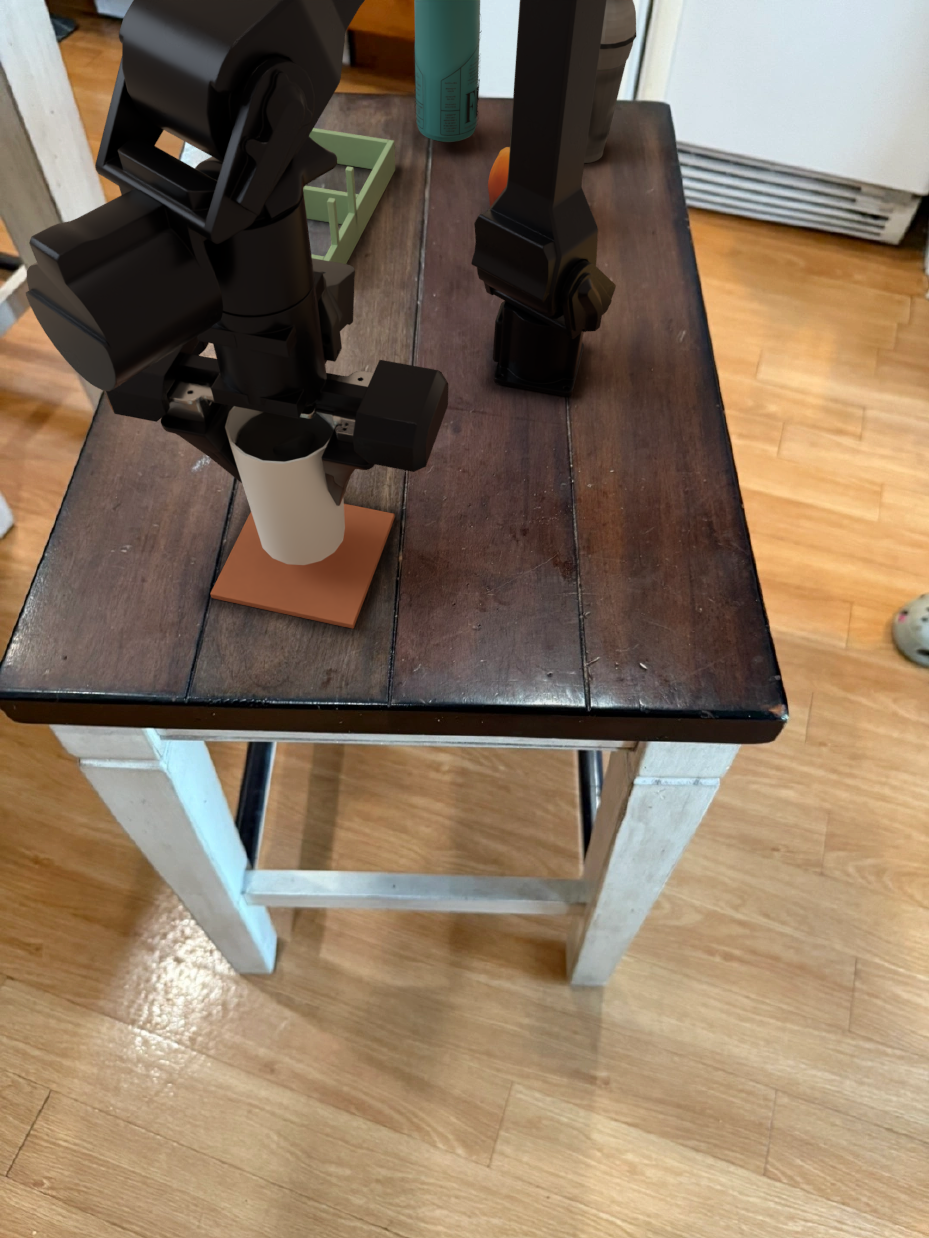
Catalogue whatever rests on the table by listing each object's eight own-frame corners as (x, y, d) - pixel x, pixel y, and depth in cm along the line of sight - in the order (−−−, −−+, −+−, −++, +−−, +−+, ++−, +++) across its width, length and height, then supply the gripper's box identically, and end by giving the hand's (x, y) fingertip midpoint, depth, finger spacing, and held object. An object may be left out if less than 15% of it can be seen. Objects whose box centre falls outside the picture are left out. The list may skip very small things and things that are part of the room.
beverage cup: (628, 163, 95) (670, -67, 78) (564, 176, 93) (593, -56, 76) (597, 128, 98) (630, -98, 82) (535, 139, 97) (556, -89, 80)
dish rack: (395, 170, 93) (393, 98, 87) (332, 291, 81) (324, 218, 76) (291, 153, 94) (282, 81, 88) (214, 271, 82) (198, 197, 77)
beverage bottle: (470, 161, 94) (479, -71, 77) (407, 152, 95) (402, -80, 78) (483, 129, 98) (493, -99, 81) (421, 121, 98) (420, -108, 82)
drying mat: (394, 518, 67) (394, 513, 66) (353, 629, 61) (353, 624, 61) (263, 491, 68) (262, 486, 67) (211, 598, 62) (209, 593, 62)
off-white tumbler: (364, 505, 64) (354, 395, 56) (333, 580, 60) (317, 474, 52) (273, 486, 65) (250, 374, 56) (237, 558, 61) (206, 450, 53)
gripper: (474, 220, 50) (466, 432, 63) (150, 167, 52) (207, 383, 65) (421, 352, 43) (424, 557, 56) (55, 287, 46) (139, 499, 58)
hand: (296, 491), depth 59 cm, fingers closed on off-white tumbler, 5 cm apart
